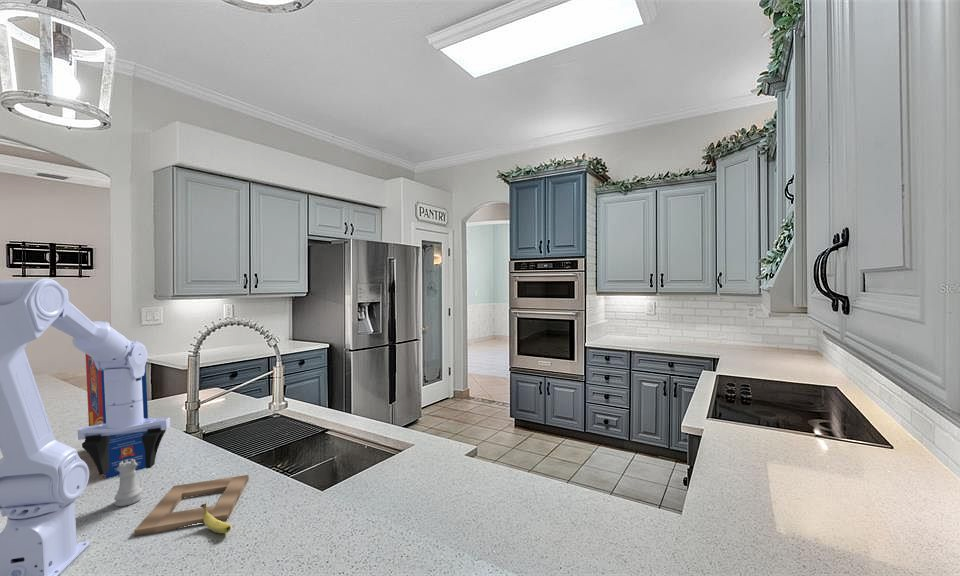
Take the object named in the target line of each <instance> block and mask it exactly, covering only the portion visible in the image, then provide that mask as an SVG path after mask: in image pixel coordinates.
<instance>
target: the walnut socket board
mask: <svg viewBox="0 0 960 576" xmlns="http://www.w3.org/2000/svg"><path fill="white" fill-rule="evenodd" d="M249 480H250V479H249V474H246V475H238V476H231V477H224V478H219V479H218V478H217V479H212V480H205V481H197V482H191V483H185V484H183V483H182V484H177V485H173V486H172V487H171V488H170V489H169V491H167V493H166V494H165V495H164V496H163V497H162V499H161V500H160V501H159V502H158V503H157V504H156V505H155V506H154V507H153V508H152V510H151V511H150V512H149V513H148V515H146V516H145V518H143V520H142V521H141V522H140V523H139V524H138V526H137V527H136V528H135V529H134V536H135V537H138V536H137V535H139V536H143V534H144V535H149V534H155V533H156V534H157V533H161V531H162V532H166V531H172V529H173V530H177V529H176V528H179V529H181V528H180V527H184V526H188V525H192V524H197V523H204V520H203V519H204V509H203V507H198V508H197V507H196V508H191V509H186V510H180V511H174V510H175V509H176V507H177V506H178V505H179V504H180V502H181V501H182V500H183V499H185V498H184V497H187V498H192V497H191V496H194V497H197V495H200V496H205V495H204V494H206V495H213V494H217V493H222V495H221V496H220V498H219V500H218V501H217V503H216V504H215V505H209V506H206V508H207V511H208V513H209V514H211V515H212V516H213V517H214V518H216V519H217V520H224V521H228V520H229V519H230V516H231V515H230V514H232V512H233V511H234V508H235V507H236V505H237V503H238V501H239V499H240V497H241V496H242V493H243V491H244V489H245V487H246V485H247V483H248V482H249ZM181 499H182V500H181ZM227 519H228V520H227ZM184 528H185V527H184Z"/></svg>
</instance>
